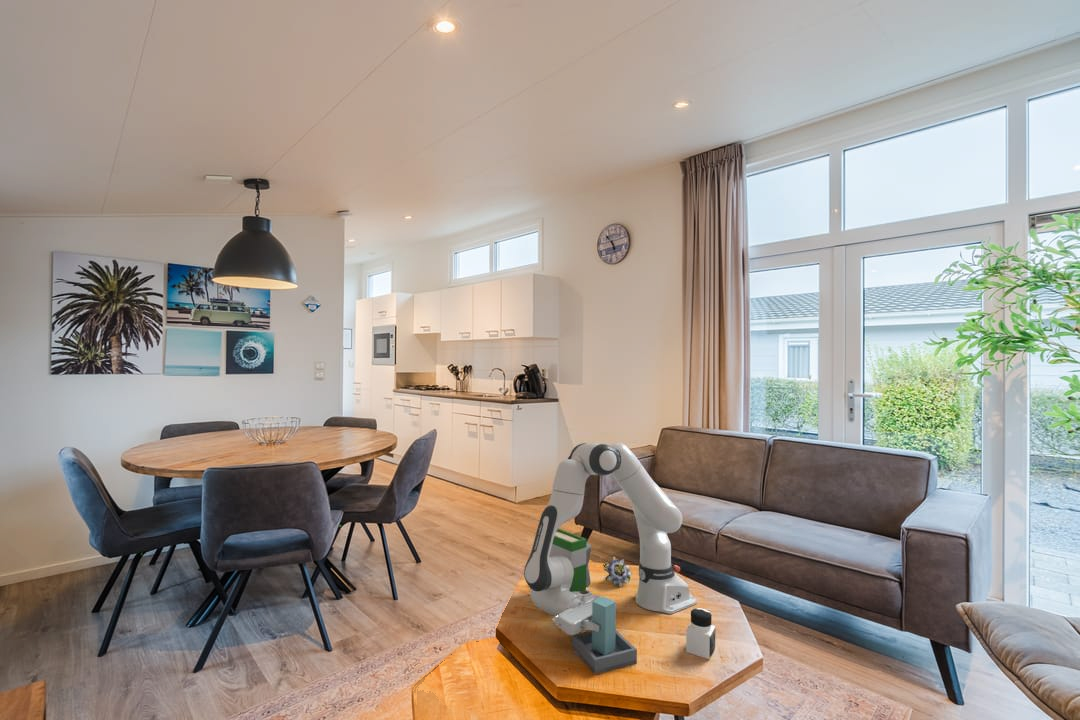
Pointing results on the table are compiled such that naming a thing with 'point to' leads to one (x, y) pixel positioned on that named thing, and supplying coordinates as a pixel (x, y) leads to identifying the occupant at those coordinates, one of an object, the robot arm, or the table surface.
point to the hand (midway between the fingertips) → (606, 624)
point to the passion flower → (617, 571)
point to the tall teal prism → (604, 625)
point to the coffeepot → (588, 549)
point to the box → (603, 663)
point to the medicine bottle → (700, 634)
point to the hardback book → (572, 556)
